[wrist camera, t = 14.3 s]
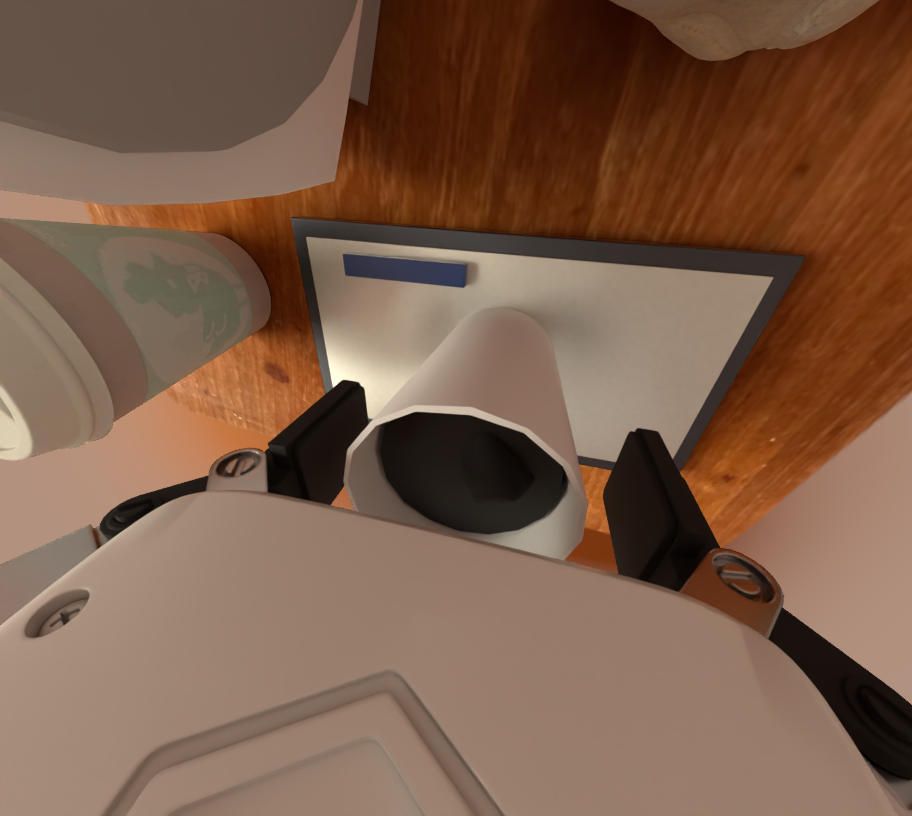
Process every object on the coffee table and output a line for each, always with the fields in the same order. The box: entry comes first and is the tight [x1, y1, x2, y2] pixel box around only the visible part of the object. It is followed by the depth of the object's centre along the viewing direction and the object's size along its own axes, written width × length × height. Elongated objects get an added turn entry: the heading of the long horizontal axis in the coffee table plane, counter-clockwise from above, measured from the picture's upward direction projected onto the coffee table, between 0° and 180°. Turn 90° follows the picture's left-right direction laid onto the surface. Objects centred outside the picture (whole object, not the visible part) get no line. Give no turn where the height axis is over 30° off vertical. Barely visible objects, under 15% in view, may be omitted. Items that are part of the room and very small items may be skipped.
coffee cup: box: [0, 218, 271, 460], centre depth 15 cm, size 9×9×12 cm
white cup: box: [343, 307, 588, 560], centre depth 13 cm, size 7×7×10 cm
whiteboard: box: [291, 217, 806, 472], centre depth 17 cm, size 22×12×2 cm, turn 87°
